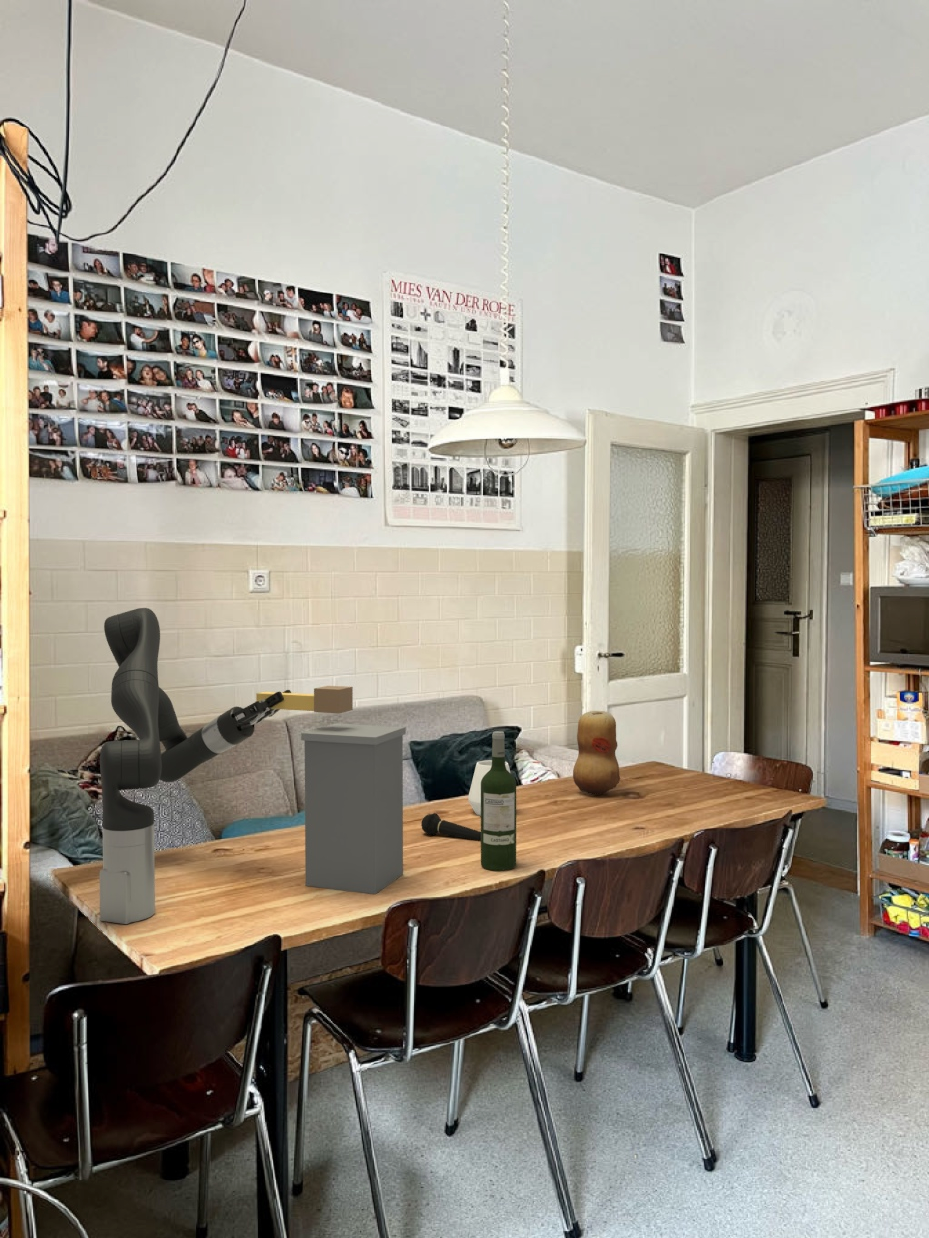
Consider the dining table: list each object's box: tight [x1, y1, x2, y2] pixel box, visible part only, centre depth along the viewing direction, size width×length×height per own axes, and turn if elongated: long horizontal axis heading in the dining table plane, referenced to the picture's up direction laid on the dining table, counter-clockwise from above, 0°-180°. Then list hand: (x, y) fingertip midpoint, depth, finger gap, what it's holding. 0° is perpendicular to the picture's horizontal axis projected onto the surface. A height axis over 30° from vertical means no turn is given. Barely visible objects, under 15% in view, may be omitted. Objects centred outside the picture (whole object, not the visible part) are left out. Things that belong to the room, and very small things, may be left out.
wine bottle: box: [480, 730, 517, 872], centre depth 211 cm, size 8×8×30 cm
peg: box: [255, 685, 354, 714], centre depth 204 cm, size 21×6×5 cm, turn 70°
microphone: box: [420, 812, 481, 842], centre depth 235 cm, size 6×6×20 cm
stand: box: [300, 723, 407, 895], centre depth 200 cm, size 17×15×32 cm
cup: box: [467, 759, 511, 817], centre depth 261 cm, size 13×13×14 cm
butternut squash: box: [572, 710, 621, 796], centre depth 284 cm, size 14×13×25 cm
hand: (286, 694), depth 205 cm, fingers closed on peg, 3 cm apart
